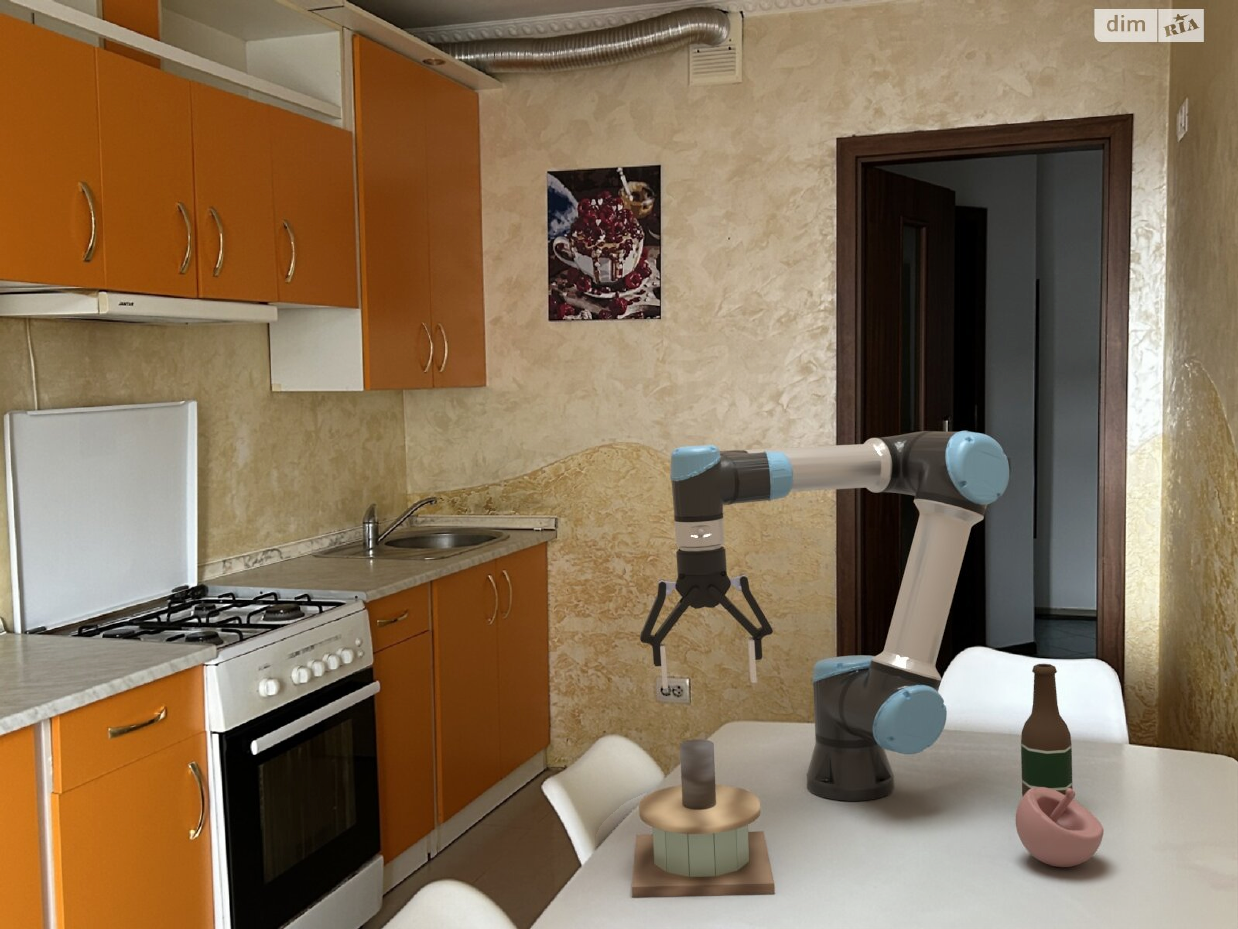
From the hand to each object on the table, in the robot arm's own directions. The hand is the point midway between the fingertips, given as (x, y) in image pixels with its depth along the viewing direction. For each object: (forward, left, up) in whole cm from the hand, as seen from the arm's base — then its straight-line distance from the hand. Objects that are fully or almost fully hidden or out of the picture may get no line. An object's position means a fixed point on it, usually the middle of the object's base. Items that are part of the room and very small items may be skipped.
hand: (709, 683), depth 185 cm
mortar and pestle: (-50, +9, -26) cm, 57 cm away
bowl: (+2, +7, -24) cm, 26 cm away
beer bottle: (-55, -13, -26) cm, 62 cm away
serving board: (+2, +7, -26) cm, 27 cm away
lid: (+2, +7, -17) cm, 19 cm away
